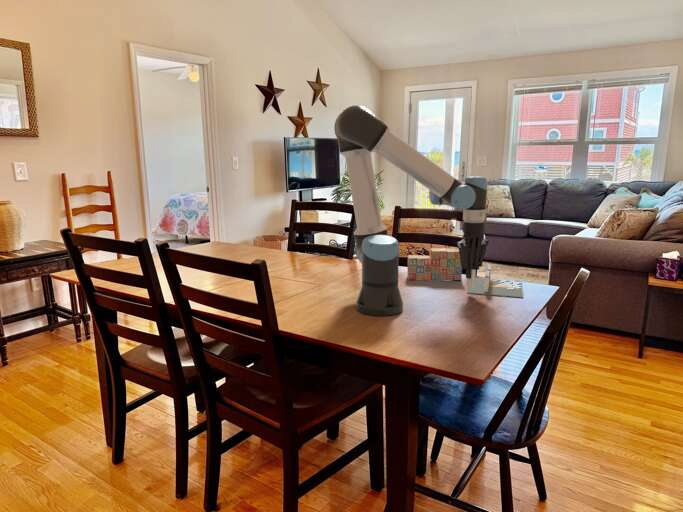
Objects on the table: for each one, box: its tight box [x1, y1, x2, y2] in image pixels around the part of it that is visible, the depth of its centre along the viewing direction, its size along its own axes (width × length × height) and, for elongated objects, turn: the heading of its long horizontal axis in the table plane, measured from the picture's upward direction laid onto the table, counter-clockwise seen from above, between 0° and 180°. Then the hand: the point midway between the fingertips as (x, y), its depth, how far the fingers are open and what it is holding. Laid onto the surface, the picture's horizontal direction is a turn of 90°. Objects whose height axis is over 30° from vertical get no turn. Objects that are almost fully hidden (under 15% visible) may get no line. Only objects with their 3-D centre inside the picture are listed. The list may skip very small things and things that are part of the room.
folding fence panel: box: [484, 268, 492, 292], centre depth 177 cm, size 11×2×6 cm, turn 161°
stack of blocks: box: [406, 247, 463, 281], centre depth 193 cm, size 21×6×12 cm, turn 86°
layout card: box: [466, 277, 524, 299], centre depth 180 cm, size 23×19×1 cm
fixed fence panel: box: [486, 263, 492, 270], centre depth 187 cm, size 9×1×7 cm, turn 161°
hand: (470, 286), depth 171 cm, fingers closed
